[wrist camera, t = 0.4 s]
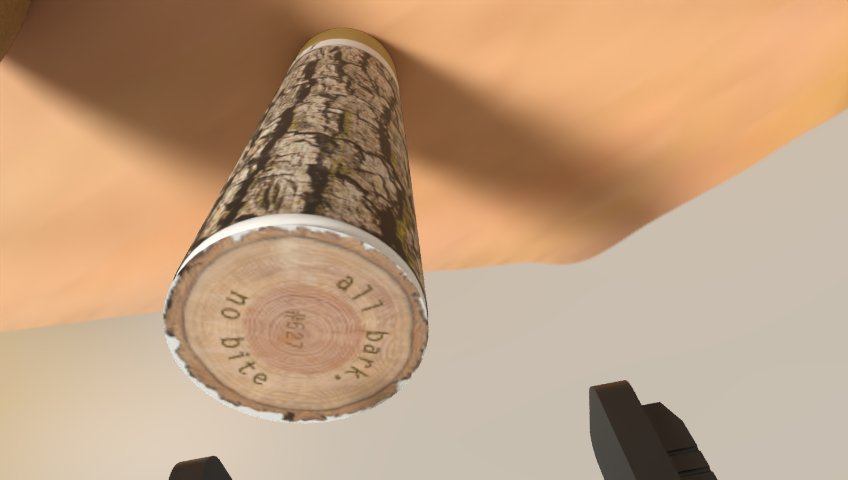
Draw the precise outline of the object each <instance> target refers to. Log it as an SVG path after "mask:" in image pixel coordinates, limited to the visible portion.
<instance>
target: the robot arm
mask: <svg viewBox="0 0 848 480" xmlns="http://www.w3.org/2000/svg"><path fill="white" fill-rule="evenodd" d="M589 405H590V436H591V441H592V446H593V449H594V453H595V456H596V459H597V462H598V464H599V467H600V469H601V472H602V475H603V477H604V480H717V478H716V476H715V475H714V473H713V472H711V470H710V467H709V465H708V463H707V461H706V460H705V458H704V456H703V454H702V453H701V451H699V450H698V448H697V444H696V443H695V441H694V439H693V438H692V436H691V435H690V433H689V431H688V429H687V428H686V426H685V424H684V423H683V421H682V420H681V419H679V418H678V417H677V416H676V415H674V414H673V413H672V412H671V411H670V410H669V409H667V408H666V407H665V406H664V405H663V404H662V403H660V402H657V403H652V404H647V405H641V403H640V401H639V400H638V398H637V396H636V394H635V392H634V390H633V388H632V387H631V385H630V384H629V383H628V382H627V381H626V380H623V381H618V382H613V383H607V384H602V385H597V386H592V387H590V389H589ZM169 480H232V478H231V477H230V475H229V474H228V472H227V471H226V469H225V468H224V466H223V464H222V463H221V462H220V460H219V459H218V458H217V457H216V456H210V457H205V458H199V459H194V460H189V461H183V462H179V463H178V464H176V465H175V466H174V468H173V470H172V472H171V474H170V477H169Z"/></svg>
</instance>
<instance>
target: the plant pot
mask: <svg viewBox="0 0 848 480" xmlns="http://www.w3.org/2000/svg"><path fill="white" fill-rule="evenodd" d="M30 3H31V0H0V62H1V60H2V59H3V57H4V56H5V54H6V53H7V51H8V50H9V48H10V46H11V45H12V43H13V41H14V40H15V38H16V36H17V34H18V32H19V30H20V28H21V26H22V24H23V22H24V19H25V17H26V14H27V12H28V9H29V7H30Z"/></svg>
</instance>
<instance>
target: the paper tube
mask: <svg viewBox="0 0 848 480" xmlns="http://www.w3.org/2000/svg"><path fill="white" fill-rule="evenodd" d="M399 94H400V92H399V86H398V79H397V73H396V69H395V66H394V63H393V61H392V59H391V57H390V55H389V53H388V52H387V51H386V49H385V48H384V47H383V46H382V45H381V44H380V43H379V42H378V41H377V40H376V39H374V38H373V37H371V36H370V35H368V34H366V33H364V32H361V31H359V30H355V29H350V28H334V29H329V30H326V31H323V32H321V33H319V34H317V35H315V36H314V37H312V38H311V39H310V40H309V41H308V42H307V43H306V44H305V45H304V46H303V47H302V48H301V50H300V52H299V53H298V55H297V57H296V59H295V60H294V62H293V63H292V65H291V67H290V68H289V70H288V72H287V74H286V76H285V77H284V79H283V81H282V83H281V85H280V86H279V88H278V90H277V92H276V94H275V95H274V97H273V99H272V101H271V103H270V105H269V106H268V108H267V110H266V112H265V114H264V115H263V117H262V119H261V121H260V123H259V124H258V126H257V128H256V130H255V132H254V133H253V135H252V137H251V139H250V141H249V142H248V144H247V146H246V148H245V150H244V151H243V153H242V155H241V157H240V159H239V160H238V162H237V164H236V166H235V168H234V169H233V171H232V173H231V175H230V177H229V178H228V180H227V182H226V184H225V186H224V187H223V189H222V191H221V193H220V195H219V196H218V198H217V200H216V202H215V204H214V205H213V207H212V209H211V211H210V213H209V214H208V216H207V218H206V220H205V222H204V223H203V225H202V227H201V229H200V231H199V232H198V234H197V236H196V238H195V240H194V241H193V243H192V245H191V247H190V249H189V250H188V252H187V254H186V256H185V258H184V259H183V261H182V263H181V265H180V267H179V268H178V270H177V273H176V275H175V277H174V279H173V282H172V284H171V286H170V289H169V291H168V293H167V297H166V300H165V304H164V311H163V326H164V332H165V337H166V341H167V344H168V347H169V349H170V351H171V353H172V356H173V357H174V359H175V360H176V362H177V364H178V366H179V367H180V368H181V369H182V371H183V372H184V373H185V375H186V376H187V377H189V379H190V380H191V381H192V382H193V383H194V384H195V385H196V386H198V387H199V388H200V389H201V390H202V391H204V392H205V393H207V394H208V395H209V396H211V397H212V398H214V399H216V400H217V401H219V402H221V403H222V404H225V405H227V406H228V407H230V408H233V409H235V410H238V411H240V412H242V413H245V414H248V415H252V416H255V417H259V418H263V419H267V420H272V421H278V422H288V423H319V422H327V421H333V420H339V419H343V418H347V417H350V416H354V415H357V414H360V413H362V412H365V411H367V410H369V409H372V408H374V407H375V406H377V405H379V404H381V403H383V402H384V401H386V400H387V399H389V398H390V397H392V396H393V395H394V394H395V393H397V392H398V391H399V390H400V389H401V388H402V387H403V386H404V385H405V384H406V383H407V382H408V381H409V380H410V378H411V377H412V376H413V375H414V373H415V371H416V370H417V368H418V367H419V365H420V363H421V361H422V359H423V356H424V353H425V350H426V346H427V340H428V310H427V301H426V293H425V285H424V277H423V270H422V262H421V254H420V246H419V239H418V231H417V223H416V215H415V208H414V200H413V192H412V184H411V177H410V169H409V161H408V153H407V146H406V138H405V130H404V123H403V115H402V107H401V99H400V95H399Z"/></svg>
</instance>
